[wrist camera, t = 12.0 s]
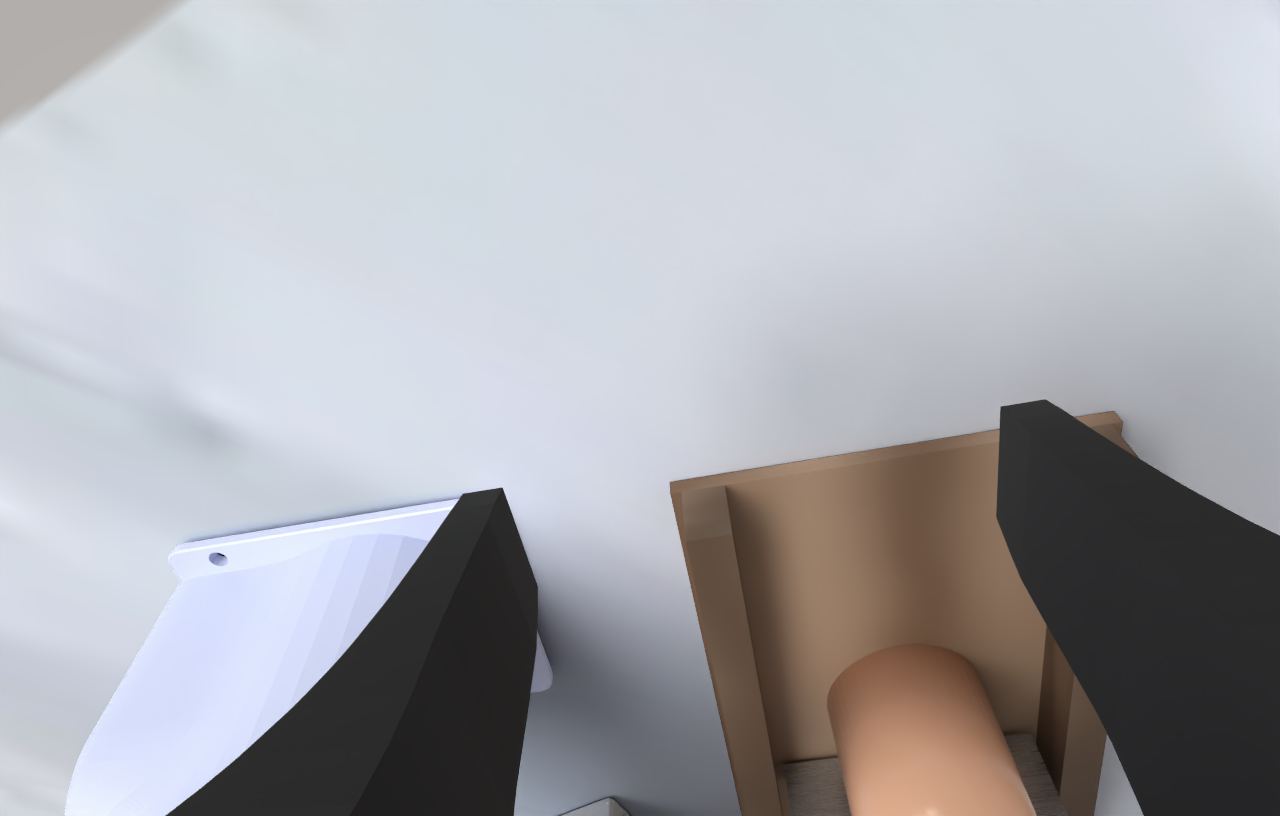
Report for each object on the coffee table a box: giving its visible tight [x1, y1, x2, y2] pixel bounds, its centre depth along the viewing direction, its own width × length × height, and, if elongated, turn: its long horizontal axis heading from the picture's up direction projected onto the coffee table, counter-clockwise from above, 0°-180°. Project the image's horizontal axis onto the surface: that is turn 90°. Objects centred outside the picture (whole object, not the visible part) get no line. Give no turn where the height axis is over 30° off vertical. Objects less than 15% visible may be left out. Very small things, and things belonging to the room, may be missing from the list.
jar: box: [827, 645, 1037, 816], centre depth 26 cm, size 5×5×8 cm
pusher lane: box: [670, 411, 1138, 816], centre depth 28 cm, size 12×22×6 cm, turn 11°
